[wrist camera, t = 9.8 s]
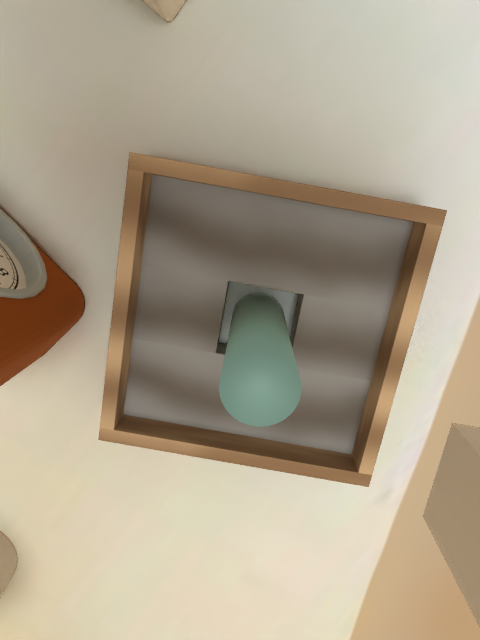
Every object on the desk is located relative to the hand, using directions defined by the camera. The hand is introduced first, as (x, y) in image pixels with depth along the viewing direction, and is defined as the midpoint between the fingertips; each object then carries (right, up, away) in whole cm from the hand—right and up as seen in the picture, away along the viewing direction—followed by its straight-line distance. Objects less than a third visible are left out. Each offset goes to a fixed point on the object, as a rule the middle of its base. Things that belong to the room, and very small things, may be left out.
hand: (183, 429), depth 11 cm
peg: (+3, +3, +24) cm, 25 cm away
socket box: (+3, +3, +24) cm, 25 cm away
